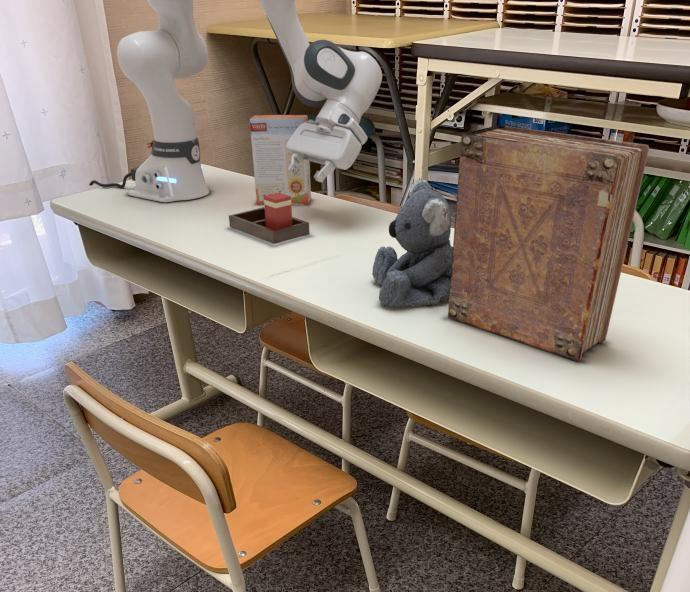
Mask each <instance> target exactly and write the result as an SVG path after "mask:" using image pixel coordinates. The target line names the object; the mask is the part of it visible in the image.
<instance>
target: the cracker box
mask: <svg viewBox="0 0 690 592" xmlns="http://www.w3.org/2000/svg"><path fill="white" fill-rule="evenodd" d="M307 121H309V119H308V115H307V114H255V115H253V116H252V117H250V118H249V127H250V141H251V151H252V152H251V153H252V164H253V174H254V187H255V188H254V189H255V198H256V205H264V196H267V195H271V194H275V193H282V194H285V195H288V196H291V204H301V205H309V204H310V202H311V200H312V188H311V186H312V185H311V163H310V162H311V161H307V160H302V162H301V163H300V162H299V165H298V168H299V171H298V173H297V175H292V174H290V173H289V172H288V169H289V167H290V165H291V159H292V155H291V154H290V153H289V152H288V150H287V149H286V144H287V142H288V141H289V139H290V138H291V136H292V135H293V133H294V132H295V131H296V129H297V128H298V127H299V126H300V125H301V124H303V123H305V122H307Z"/></svg>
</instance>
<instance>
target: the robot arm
mask: <svg viewBox="0 0 690 592" xmlns="http://www.w3.org/2000/svg"><path fill="white" fill-rule="evenodd" d="M258 1H259V4H260V6H261V8H262V10H263V12H264V13H265V15H266V18H267V20H268V22H269V25H270V27H271V29H272V31H273V34H274V36H275V39H276V41H277V43H278V45H279V47H280V49H281V51H282V53H283V56H284V58H285V60H286V62H287V65H288V67H289V70H290V71H289V72H290V78H291V85H292V90H293V92H294V96H296V98H297V99H298V100H299V101H300V103H302V104H303V105H305V106H307V107H311V108H319V107H321V109H320V111H319V112H318V114H317V115H316V117H315V119H308V121H307V122H305V123H303V124H301V125H300V126H299V127H298V128H297V129H296V131H295V132H294V133H293V135H292V136H291V138H290V139H289V141H288V142H287V144H286V149H287V150H288V152H289V153H290V154H291V155H292V159H291V165H290V167H289V169H288V172H289V173H290V174H292V175H297V173H298V171H299V168H298V165H299V162H300V163H301V162H302V160H307V161H309V162H312V163H315V164H320V165H324V166H323V167H322V168H321V169H320V170H316V172H315V173H314V175H313V179H314V180H315V181H316V182H318V183H323V182H324V181H325V179H326V177H328V176H329V175H331V174H332V173H333V172H334V171H335V169H340V170H343V171H345V170H348V169H349V168H351V167H352V166H353V164H354V163H355V161H356V160H357V158H358V156H359V154H360V153H361V150H362V146H363V145H365V143H366V142H367V141H368V137H369V136H368V135H367V134H366V132H365V131H364V129H363V128H362V127H361V126H360V125H359V124H360V123H361V119H362V116H363V115H364V113H365V112H367V111H368V110H369V108H370V106H371V105H372V103H373V101H374V100H375V98H376V96H377V93H378V92H379V89H380V87H381V84H382V80H383V73H382V69H381V66H380V64H379V63H378V61H377V60H376V59H375V58H374V56H373V55H371V54H370V53H368V52H366V51H352V50H348V49H346V48H342V47H341V46H338V45H337V44H336V43H335V42H333V41H332V40H328V39H317V40H315V41H312V43H310V42H309V39H308V38H307V35H306V33H305V30H304V29H303V26H302V24H301V22H300V19H299V17H298V13H297V7H296V0H258ZM146 2H147V4H148V5H149V6H150V8H151V9H152V10H153V11H155V12H156V13H157V17H158V27H157V29H153V30H144V31H143V30H141V31H136V32H133V33H130V34H129V35H126V36H124V37H122V38H121V39H120V41H119V42H118V45H117V48H116V56H117V57H116V58H117V59H116V60H117V63H118V66H119V69H120V70H121V72H122V74H123V75H124V76H125V77H126V78H127V79H128V80H129V81H130V82H132V83H133V84H134V85H135V86H136V88H137V89H138V90H139V91H140V93H141V95H142V96H143V98H144V101H145V103H146V105H147V108H148V111H149V112H148V113H149V116H150V117H149V118H150V121H151V127H152V132H153V138H154V139H153V140H152V141H151V142H147V143H146V145H148V146H147V147H146V148H147V149H150V148H151V151H150V155H149V156H148V157H147V158H146V159H145V161H144V162H142V164H140V165H139V166H136V167H134V168H131V169H130V172H129V173H126V175H124V176H123V179H122V184H120V183H116V182H113V183H101V182H99V181H98V180H95V179H94V180H91V181H90V182H89V184H88V186H90V187H91V186H93V185H94V184H95V185H97V186H99V187H101V188H113V187H118V188H120V189H123V188H125V186H126V184H127V179H129V178H130V177H131V181H132V182H135V183H134V184H135V186H133V187H131V188H130V189H129V190H128V196H131V197H136V198H140V199H146V200H149V201H155V202H159V203H171V202H176V201H188V200H194V199H199V198H204V197H206V196H207V195H209V193H210V190H209V188H208V185H207V181H206V179H205V175H204V172H203V165H202V163H201V149H200V147H201V146H200V141H199V137H197V129H196V122H195V121H196V120H195V114H194V108H193V106H192V104H191V103H190V101H188V100H187V99H186V98H184V97H182V96H181V94H180V93H179V91H178V89H177V85H176V83H175V80H179V79H186V78H191V77H192V76H195V75H197V74H199V73H200V72H202V71H204V70H205V69H206V67H207V64H208V61H209V51H208V46H207V43H206V40H205V39H204V38H203V36H202V35H201V34H200V32H199V31H198V29H197V26H196V21H195V17H194V0H146Z"/></svg>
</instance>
